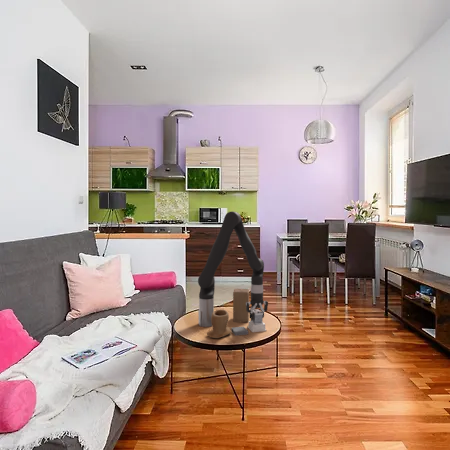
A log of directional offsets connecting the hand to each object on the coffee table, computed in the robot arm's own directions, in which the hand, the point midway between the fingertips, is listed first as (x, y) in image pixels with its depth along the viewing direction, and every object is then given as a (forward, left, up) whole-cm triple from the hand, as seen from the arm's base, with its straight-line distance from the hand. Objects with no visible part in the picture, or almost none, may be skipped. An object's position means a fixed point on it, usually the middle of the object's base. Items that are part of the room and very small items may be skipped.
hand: (256, 318), depth 213 cm
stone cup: (-24, -5, -7) cm, 25 cm away
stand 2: (0, 0, -7) cm, 7 cm away
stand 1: (-12, -3, -7) cm, 14 cm away
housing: (0, 0, -3) cm, 3 cm away
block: (-4, +19, -7) cm, 21 cm away
